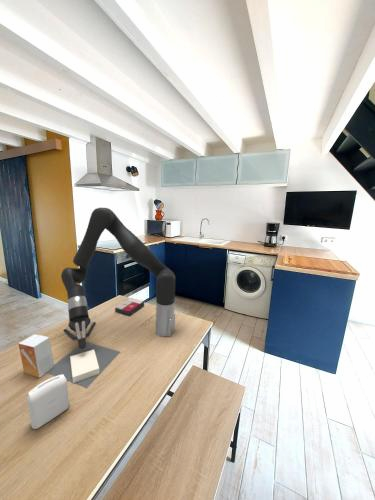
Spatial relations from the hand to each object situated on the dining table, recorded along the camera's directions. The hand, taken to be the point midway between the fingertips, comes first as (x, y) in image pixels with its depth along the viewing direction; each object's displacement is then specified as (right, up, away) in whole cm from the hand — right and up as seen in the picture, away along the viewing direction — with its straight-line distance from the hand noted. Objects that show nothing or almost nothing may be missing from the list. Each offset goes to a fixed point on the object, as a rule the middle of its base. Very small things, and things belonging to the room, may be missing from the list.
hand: (82, 348), depth 85 cm
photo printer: (0, -11, -20) cm, 23 cm away
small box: (-15, -6, -4) cm, 17 cm away
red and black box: (+7, +3, +46) cm, 47 cm away
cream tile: (-1, -4, +2) cm, 5 cm away
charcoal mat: (+1, -6, +1) cm, 6 cm away
